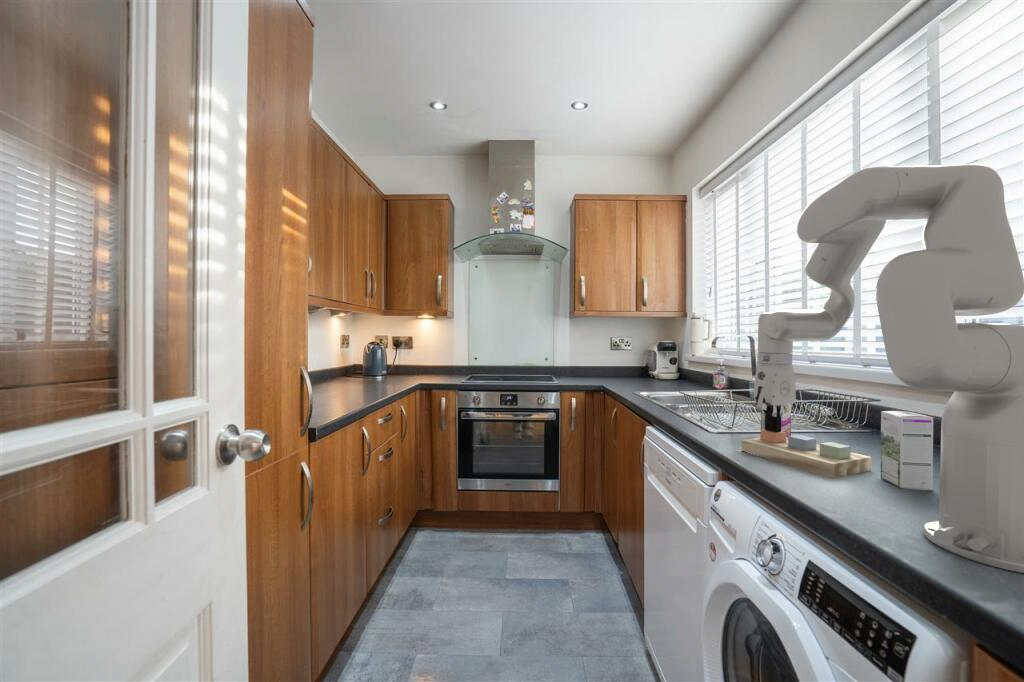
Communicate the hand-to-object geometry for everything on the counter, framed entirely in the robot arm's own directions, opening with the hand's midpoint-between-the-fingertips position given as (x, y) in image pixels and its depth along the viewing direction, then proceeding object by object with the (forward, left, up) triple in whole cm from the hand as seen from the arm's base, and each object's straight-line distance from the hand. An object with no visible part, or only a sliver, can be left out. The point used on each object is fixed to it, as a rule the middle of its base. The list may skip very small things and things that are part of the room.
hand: (772, 430), depth 102 cm
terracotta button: (0, 0, -3) cm, 3 cm away
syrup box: (+3, -25, -6) cm, 26 cm away
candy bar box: (+13, +8, -6) cm, 16 cm away
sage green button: (0, -14, -3) cm, 14 cm away
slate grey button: (0, -7, -3) cm, 8 cm away
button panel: (0, -7, -6) cm, 9 cm away
